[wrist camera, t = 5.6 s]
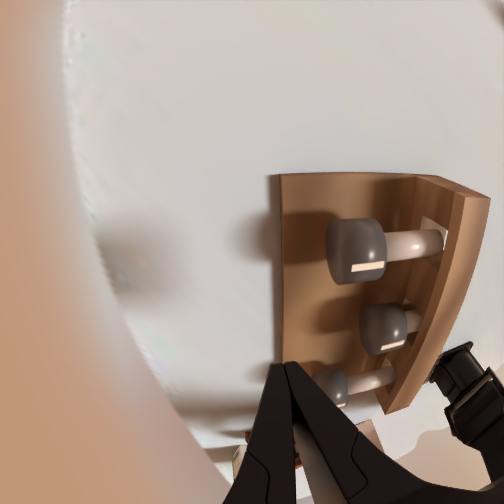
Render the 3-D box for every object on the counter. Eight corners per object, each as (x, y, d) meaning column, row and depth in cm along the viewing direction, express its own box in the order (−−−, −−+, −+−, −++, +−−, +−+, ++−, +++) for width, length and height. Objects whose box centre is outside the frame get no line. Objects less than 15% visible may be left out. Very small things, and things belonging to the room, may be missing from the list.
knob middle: (437, 282, 20) (462, 307, 16) (426, 316, 21) (447, 342, 18) (363, 297, 19) (385, 329, 16) (355, 333, 21) (373, 365, 18)
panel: (437, 175, 17) (490, 198, 12) (388, 368, 27) (408, 406, 21) (279, 174, 16) (304, 198, 11) (280, 391, 26) (289, 438, 21)
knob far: (389, 348, 23) (406, 376, 19) (379, 372, 24) (393, 399, 21) (313, 364, 22) (323, 398, 19) (309, 388, 24) (318, 419, 21)
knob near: (424, 207, 16) (458, 226, 13) (416, 254, 18) (445, 279, 15) (326, 210, 16) (351, 235, 13) (323, 265, 18) (344, 298, 14)
